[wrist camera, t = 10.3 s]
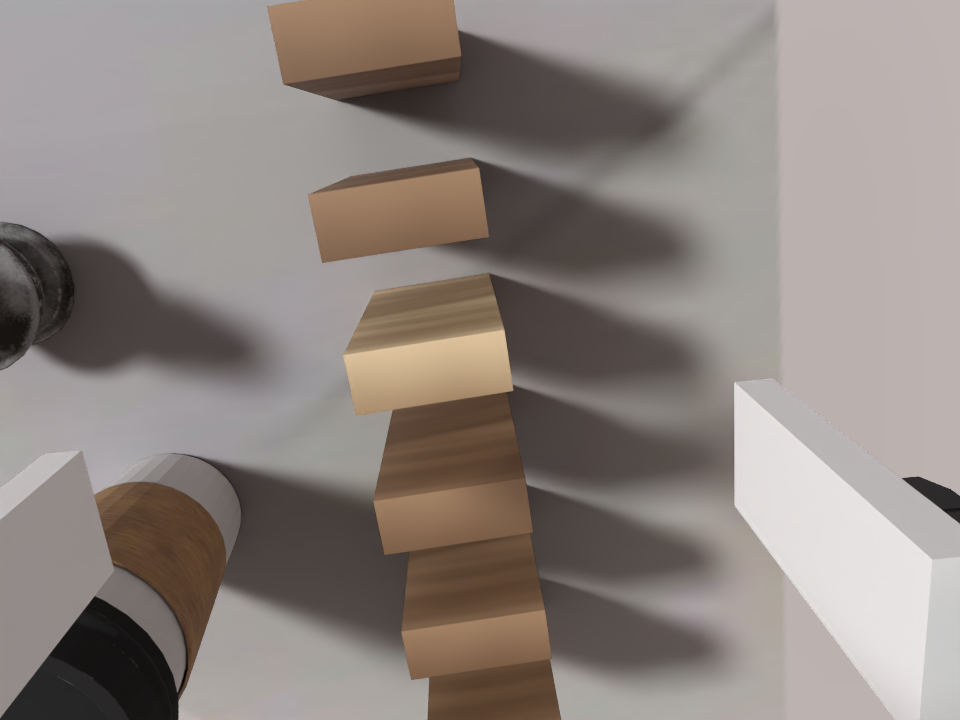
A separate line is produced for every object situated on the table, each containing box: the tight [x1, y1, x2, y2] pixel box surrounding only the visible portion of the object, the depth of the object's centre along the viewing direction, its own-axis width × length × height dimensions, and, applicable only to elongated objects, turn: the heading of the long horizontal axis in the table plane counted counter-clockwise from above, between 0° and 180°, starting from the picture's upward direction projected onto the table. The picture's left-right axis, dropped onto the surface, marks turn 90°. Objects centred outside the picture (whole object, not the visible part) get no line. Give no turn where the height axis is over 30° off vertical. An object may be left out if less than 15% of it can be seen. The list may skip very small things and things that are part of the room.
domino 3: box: [373, 392, 533, 555], centre depth 30 cm, size 2×5×10 cm, turn 98°
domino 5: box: [428, 659, 561, 720], centre depth 33 cm, size 2×5×10 cm, turn 99°
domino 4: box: [401, 533, 552, 680], centre depth 31 cm, size 2×5×10 cm, turn 99°
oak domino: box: [343, 273, 513, 415], centre depth 29 cm, size 2×5×10 cm, turn 99°
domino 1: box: [267, 0, 462, 100], centre depth 26 cm, size 2×5×10 cm, turn 99°
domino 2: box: [308, 158, 489, 263], centre depth 27 cm, size 2×5×10 cm, turn 98°
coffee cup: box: [0, 454, 241, 720], centre depth 28 cm, size 8×8×15 cm
